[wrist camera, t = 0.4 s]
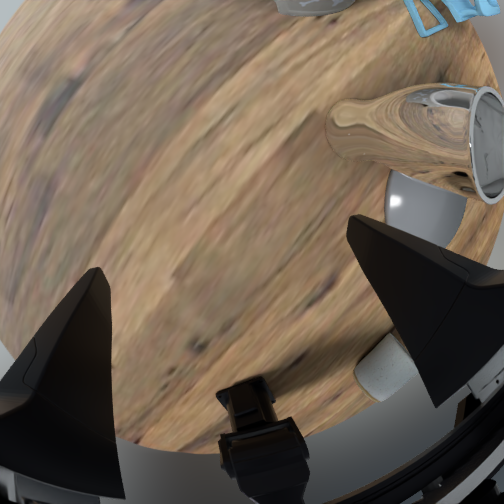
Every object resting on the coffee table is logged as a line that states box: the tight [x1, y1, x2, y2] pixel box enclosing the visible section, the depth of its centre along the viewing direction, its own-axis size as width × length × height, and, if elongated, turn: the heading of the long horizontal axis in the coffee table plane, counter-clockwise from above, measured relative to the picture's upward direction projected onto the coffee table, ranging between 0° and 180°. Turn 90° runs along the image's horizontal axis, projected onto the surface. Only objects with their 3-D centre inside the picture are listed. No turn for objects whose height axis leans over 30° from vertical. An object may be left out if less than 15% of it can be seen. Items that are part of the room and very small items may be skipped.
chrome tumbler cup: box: [325, 83, 504, 204], centre depth 15 cm, size 7×7×15 cm
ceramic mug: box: [353, 333, 419, 402], centre depth 33 cm, size 11×8×8 cm
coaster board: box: [384, 169, 467, 248], centre depth 27 cm, size 16×16×1 cm
